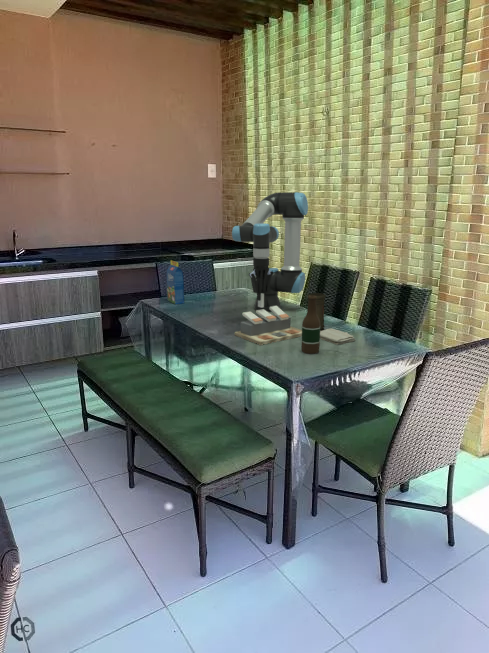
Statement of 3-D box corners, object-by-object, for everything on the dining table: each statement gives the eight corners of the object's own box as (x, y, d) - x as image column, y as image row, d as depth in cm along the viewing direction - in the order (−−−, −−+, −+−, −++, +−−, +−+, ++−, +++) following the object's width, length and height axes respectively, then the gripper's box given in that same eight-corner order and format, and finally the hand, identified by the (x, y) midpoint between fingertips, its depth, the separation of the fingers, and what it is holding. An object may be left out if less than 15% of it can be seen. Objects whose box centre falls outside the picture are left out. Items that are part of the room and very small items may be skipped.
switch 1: (249, 315, 236) (250, 310, 235) (262, 324, 229) (262, 319, 228) (242, 316, 234) (242, 312, 233) (254, 326, 227) (255, 321, 226)
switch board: (280, 325, 250) (280, 322, 250) (307, 334, 235) (307, 331, 234) (234, 335, 235) (234, 331, 234) (260, 345, 219) (260, 341, 218)
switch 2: (275, 309, 245) (276, 305, 244) (287, 320, 239) (289, 316, 238) (268, 310, 243) (269, 306, 241) (280, 322, 237) (282, 317, 235)
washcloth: (338, 346, 219) (338, 339, 218) (310, 336, 233) (310, 330, 233) (356, 341, 226) (357, 335, 225) (328, 332, 240) (329, 326, 239)
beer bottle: (299, 348, 214) (301, 294, 208) (317, 348, 215) (319, 293, 209) (303, 354, 207) (304, 298, 200) (321, 354, 207) (323, 297, 201)
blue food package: (175, 304, 297) (173, 262, 291) (167, 300, 307) (165, 260, 301) (184, 303, 300) (183, 262, 294) (176, 299, 310) (175, 259, 304)
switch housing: (279, 324, 247) (280, 314, 246) (290, 327, 241) (290, 317, 240) (240, 332, 234) (240, 322, 232) (250, 336, 227) (250, 325, 226)
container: (313, 334, 236) (314, 297, 231) (302, 329, 244) (303, 293, 239) (328, 331, 240) (330, 295, 235) (317, 327, 248) (319, 291, 243)
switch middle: (262, 313, 241) (263, 308, 240) (275, 322, 234) (276, 317, 233) (255, 314, 238) (256, 309, 237) (268, 323, 231) (269, 318, 230)
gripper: (267, 255, 238) (266, 303, 244) (245, 257, 231) (245, 307, 237) (277, 257, 232) (276, 306, 238) (254, 259, 225) (254, 310, 231)
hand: (260, 306), depth 238 cm, fingers closed
